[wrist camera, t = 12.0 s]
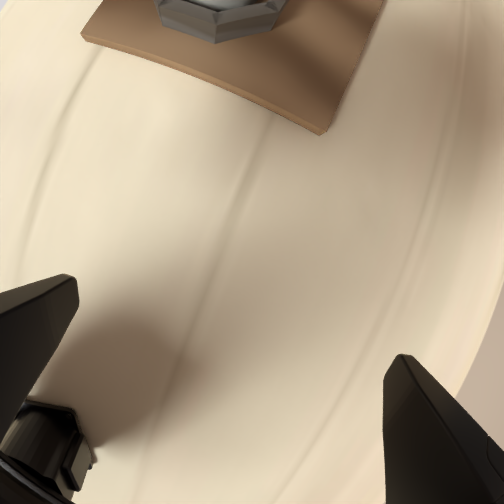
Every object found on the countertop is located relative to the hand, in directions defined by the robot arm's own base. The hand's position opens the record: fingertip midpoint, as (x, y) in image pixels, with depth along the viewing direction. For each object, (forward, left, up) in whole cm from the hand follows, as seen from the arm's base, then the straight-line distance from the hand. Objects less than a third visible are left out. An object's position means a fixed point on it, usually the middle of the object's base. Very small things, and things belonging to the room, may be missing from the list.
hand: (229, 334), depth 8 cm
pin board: (+2, +20, -11) cm, 23 cm away
